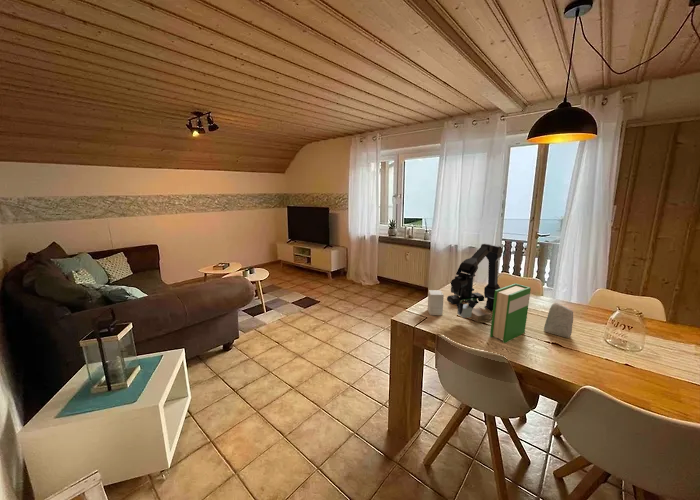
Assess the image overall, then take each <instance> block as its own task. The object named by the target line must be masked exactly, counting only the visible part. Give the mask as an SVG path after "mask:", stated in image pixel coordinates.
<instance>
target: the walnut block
mask: <svg viewBox="0 0 700 500" xmlns="http://www.w3.org/2000/svg"><path fill="white" fill-rule="evenodd" d="M468 318H469V319H471V320H472V321H474V322H475V323H482V322H487V321H492V313H491V312H489V311H487V310H485V309H483V308H482V307H481V306H480V307H479V306H478V307H474V308H473V309H472V315H471V317H468Z"/></svg>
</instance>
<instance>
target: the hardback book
mask: <svg viewBox="0 0 700 500" xmlns="http://www.w3.org/2000/svg"><path fill="white" fill-rule="evenodd" d="M531 291H532V290H531V287H530V286H528V285H527V286H526V285H522V284H520V283H516V282H515V283H513V284H509V285H506V286H504V287H500V289H498V290H495V295H494V304H493V311H492V313H491V323H490V324H491V325H490V334H489V337H490V338H493V337H494V338H497V339H499V340H501V341H502V344H506V343H508V342H510V341H513V340H514V339H515V338H518V337H519V336H521V335H523V334H525V333H526V326H527V319H528V311H529V303H530V298H531V297H530V295H531Z"/></svg>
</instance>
